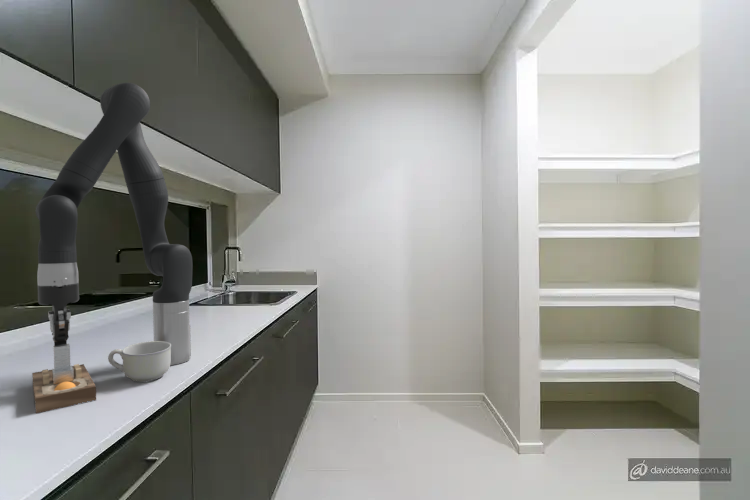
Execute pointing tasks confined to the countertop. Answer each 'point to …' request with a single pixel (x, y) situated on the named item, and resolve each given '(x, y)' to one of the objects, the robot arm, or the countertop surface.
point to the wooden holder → (62, 398)
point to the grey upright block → (62, 364)
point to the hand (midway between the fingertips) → (60, 356)
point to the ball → (64, 386)
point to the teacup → (144, 360)
